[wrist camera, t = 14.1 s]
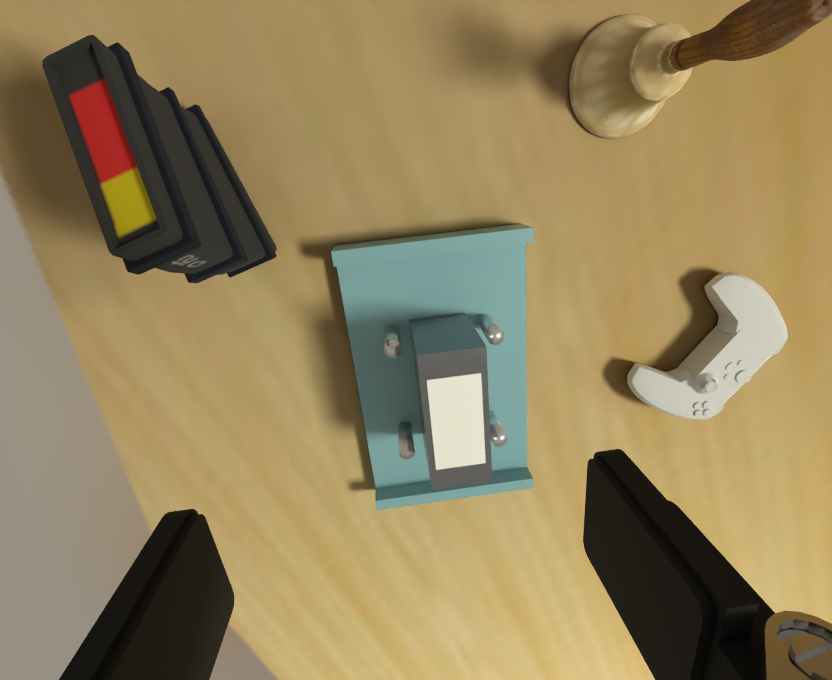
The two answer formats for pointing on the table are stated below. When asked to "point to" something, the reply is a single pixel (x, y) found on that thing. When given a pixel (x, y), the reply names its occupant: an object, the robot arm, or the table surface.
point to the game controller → (717, 352)
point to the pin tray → (393, 354)
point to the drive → (453, 399)
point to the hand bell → (671, 59)
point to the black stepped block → (153, 169)
